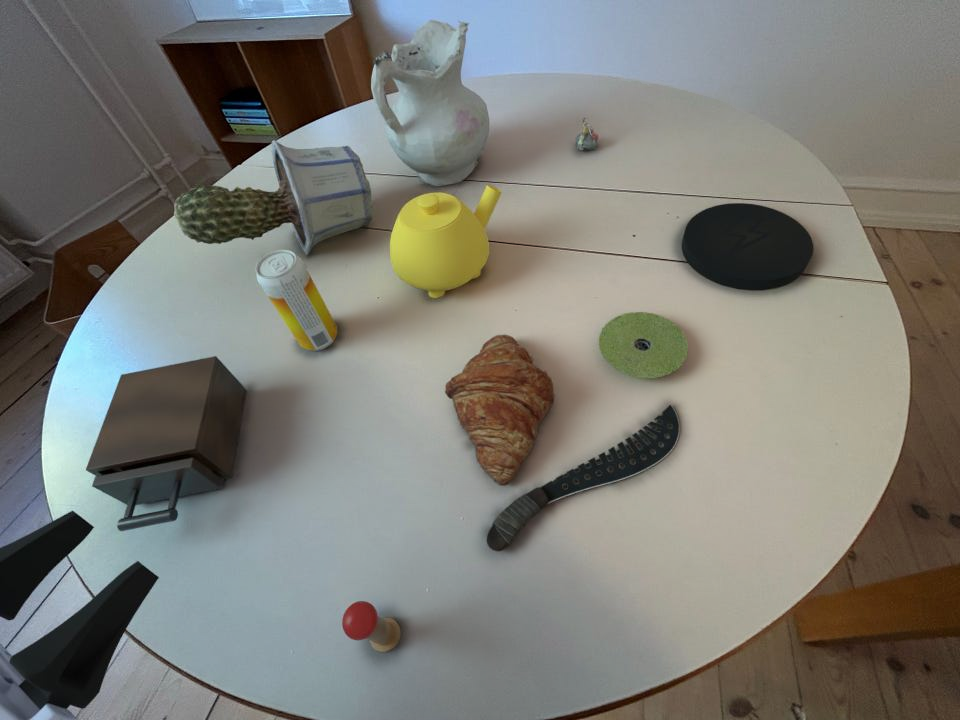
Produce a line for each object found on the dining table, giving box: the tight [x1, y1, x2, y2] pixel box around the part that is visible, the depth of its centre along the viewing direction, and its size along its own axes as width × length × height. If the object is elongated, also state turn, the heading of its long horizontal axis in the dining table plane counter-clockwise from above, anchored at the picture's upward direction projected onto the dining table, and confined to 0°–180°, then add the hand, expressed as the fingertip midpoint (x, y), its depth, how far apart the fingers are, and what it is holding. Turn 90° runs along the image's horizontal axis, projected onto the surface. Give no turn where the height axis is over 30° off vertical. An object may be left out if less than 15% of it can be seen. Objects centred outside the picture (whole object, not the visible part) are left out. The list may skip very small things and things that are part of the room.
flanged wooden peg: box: [366, 615, 401, 653], centre depth 46 cm, size 3×3×7 cm
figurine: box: [575, 117, 599, 151], centre depth 95 cm, size 5×4×6 cm
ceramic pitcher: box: [370, 19, 490, 187], centre depth 88 cm, size 22×20×25 cm
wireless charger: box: [681, 202, 814, 291], centre depth 74 cm, size 18×18×2 cm
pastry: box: [444, 334, 556, 486], centre depth 60 cm, size 17×15×8 cm
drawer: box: [91, 453, 223, 532], centre depth 59 cm, size 17×11×6 cm, turn 9°
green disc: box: [598, 311, 689, 380], centre depth 65 cm, size 11×11×2 cm
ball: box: [341, 600, 379, 641], centre depth 42 cm, size 3×3×3 cm
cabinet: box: [85, 355, 248, 480], centre depth 62 cm, size 14×13×8 cm
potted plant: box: [173, 139, 374, 255], centre depth 81 cm, size 18×18×30 cm
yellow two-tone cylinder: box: [255, 249, 338, 352], centre depth 68 cm, size 6×6×15 cm
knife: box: [486, 403, 680, 552], centre depth 55 cm, size 28×2×5 cm
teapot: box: [389, 184, 503, 299], centre depth 75 cm, size 20×16×14 cm
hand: (115, 542), depth 34 cm, fingers open, 7 cm apart
